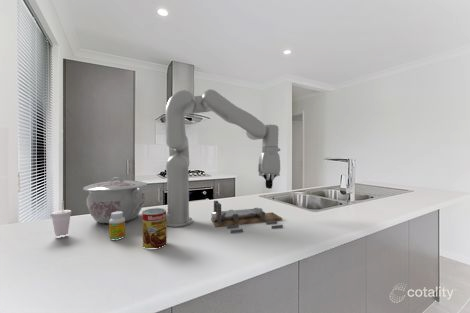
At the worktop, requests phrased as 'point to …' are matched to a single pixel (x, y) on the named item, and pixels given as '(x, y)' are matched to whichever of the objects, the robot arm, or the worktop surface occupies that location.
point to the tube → (241, 214)
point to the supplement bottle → (116, 225)
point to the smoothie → (61, 221)
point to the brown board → (235, 221)
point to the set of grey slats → (242, 229)
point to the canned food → (154, 228)
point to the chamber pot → (115, 199)
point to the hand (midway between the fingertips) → (268, 188)
